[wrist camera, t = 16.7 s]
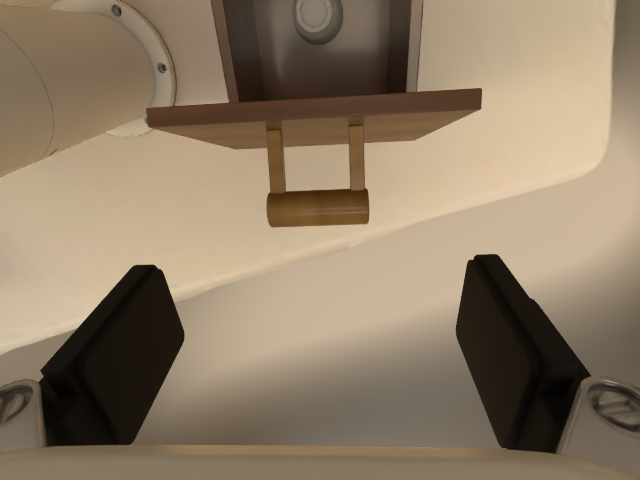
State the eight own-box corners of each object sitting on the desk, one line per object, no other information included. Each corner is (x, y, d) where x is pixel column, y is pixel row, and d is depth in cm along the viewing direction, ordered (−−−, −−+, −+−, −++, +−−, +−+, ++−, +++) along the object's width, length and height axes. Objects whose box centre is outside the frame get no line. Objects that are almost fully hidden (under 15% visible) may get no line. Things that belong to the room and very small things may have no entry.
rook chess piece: (337, -22, 30) (337, -39, 23) (348, 37, 32) (352, 38, 25) (287, -5, 30) (273, -17, 24) (301, 51, 33) (292, 55, 26)
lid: (145, 107, 14) (162, 240, 15) (482, 87, 14) (477, 229, 15) (234, 138, 27) (240, 211, 28) (414, 129, 26) (414, 205, 27)
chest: (242, -24, 31) (201, -49, 21) (399, -37, 30) (428, -69, 20) (261, 114, 36) (236, 142, 27) (393, 107, 36) (413, 133, 26)
